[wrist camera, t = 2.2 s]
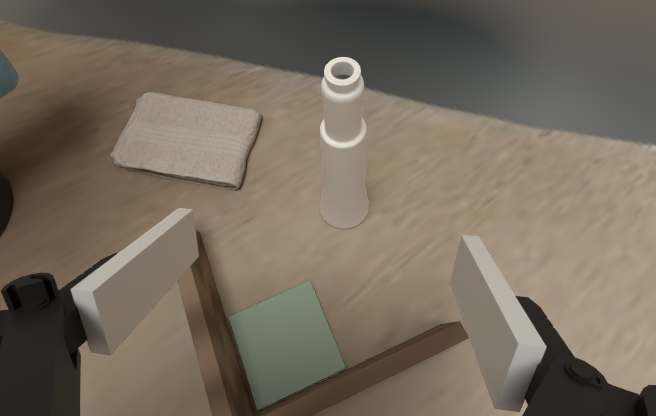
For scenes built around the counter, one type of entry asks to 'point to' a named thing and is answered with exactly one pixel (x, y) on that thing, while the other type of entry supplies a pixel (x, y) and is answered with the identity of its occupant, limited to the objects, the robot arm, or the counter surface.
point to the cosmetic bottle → (343, 145)
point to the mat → (285, 344)
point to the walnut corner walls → (296, 411)
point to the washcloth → (188, 140)
